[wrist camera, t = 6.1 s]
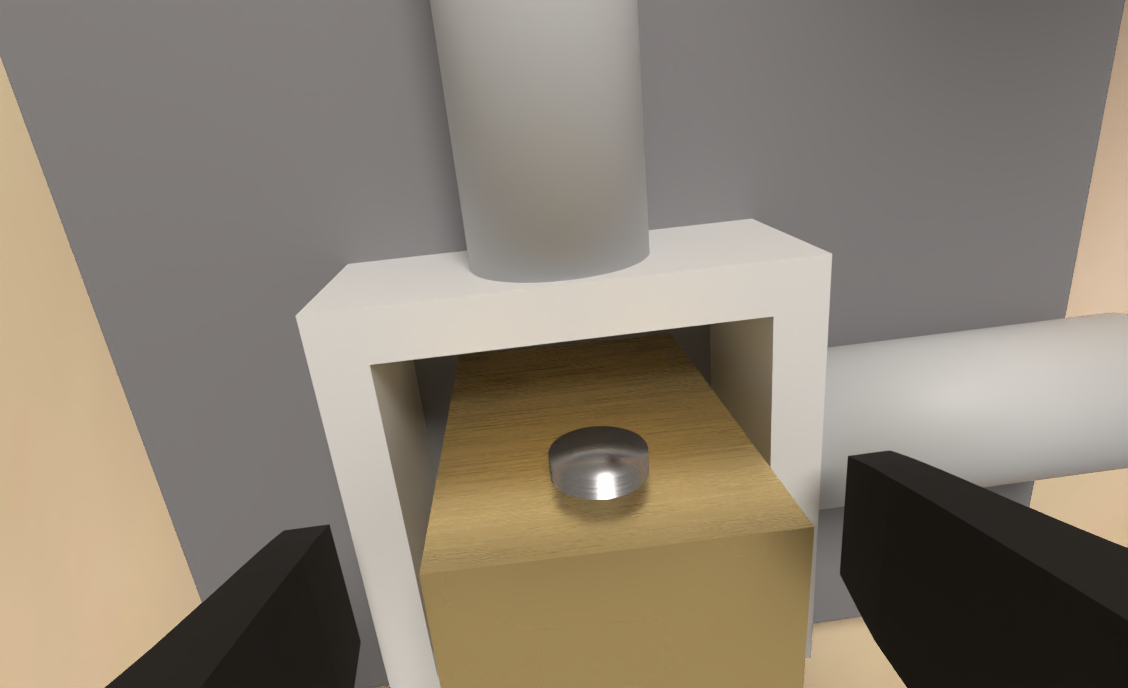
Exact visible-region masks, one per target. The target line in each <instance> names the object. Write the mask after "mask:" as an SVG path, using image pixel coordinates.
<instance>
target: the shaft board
mask: <svg viewBox="0 0 1128 688" xmlns="http://www.w3.org/2000/svg"><path fill="white" fill-rule="evenodd" d="M1124 2H1125V0H0V57H1V59H2V62H3V65H4V67H5V70H6V73H7V76H8V78H9V81H10V84H11V86H12V89H13V92H14V95H15V97H16V100H17V103H18V105H19V108H20V111H21V114H22V116H23V119H24V122H25V124H26V127H27V130H28V132H29V135H30V138H31V141H32V143H33V146H34V149H35V151H36V154H37V157H38V160H39V162H40V165H41V168H42V170H43V173H44V176H45V179H46V181H47V184H48V187H49V189H50V192H51V195H52V197H53V200H54V203H55V206H56V208H57V211H58V214H59V216H60V219H61V222H62V225H63V227H64V230H65V233H66V235H67V238H68V241H69V244H70V246H71V249H72V252H73V254H74V257H75V260H76V262H77V265H78V268H79V271H80V273H81V276H82V279H83V281H84V284H85V287H86V290H87V292H88V295H89V298H90V300H91V303H92V306H93V309H94V311H95V314H96V317H97V319H98V322H99V325H100V327H101V330H102V333H103V336H104V338H105V341H106V344H107V346H108V349H109V352H110V355H111V357H112V360H113V363H114V365H115V368H116V371H117V374H118V376H119V379H120V382H121V384H122V387H123V390H124V392H125V395H126V398H127V401H128V403H129V406H130V409H131V411H132V414H133V417H134V420H135V422H136V425H137V428H138V430H139V433H140V436H141V439H142V441H143V444H144V447H145V449H146V452H147V455H148V457H149V460H150V463H151V466H152V468H153V471H154V474H155V476H156V479H157V482H158V485H159V487H160V490H161V493H162V495H163V498H164V501H165V504H166V506H167V509H168V512H169V514H170V517H171V520H172V522H173V525H174V528H175V531H176V533H177V536H178V539H179V541H180V544H181V547H182V550H183V552H184V555H185V558H186V560H187V563H188V566H189V569H190V571H191V574H192V577H193V579H194V582H195V585H196V587H197V590H198V593H199V596H200V598H201V601H202V602H204V601H205V600H206V599H207V598H208V597H209V596H210V595H211V594H212V593H214V592H215V591H216V590H217V589H218V588H219V587H220V586H221V585H222V584H223V583H224V582H226V581H227V580H228V579H229V578H230V577H231V576H232V575H233V574H234V573H235V572H236V571H238V570H239V569H240V568H241V567H242V566H243V565H244V564H245V563H246V562H247V561H249V560H250V559H251V558H252V557H253V556H254V555H255V554H256V553H257V552H259V551H260V550H261V549H262V548H263V547H264V546H265V545H267V544H268V543H269V542H270V541H271V540H272V539H274V538H275V537H276V536H277V535H279V534H280V533H281V532H282V531H284V530H290V529H298V528H305V527H313V526H321V525H328V524H330V528H331V532H332V536H333V539H334V543H335V547H336V551H337V554H338V558H339V562H340V566H341V569H342V573H343V577H344V581H345V584H346V588H347V592H348V596H349V599H350V603H351V607H352V611H353V614H354V618H355V622H356V626H357V629H358V633H359V637H360V640H361V645H360V651H359V658H358V665H357V672H356V679H355V686H354V688H371V687H378V686H385V685H390V688H441V686H440V681H439V676H438V671H437V666H436V660H435V655H434V650H433V645H432V640H431V634H430V629H429V624H428V619H427V614H426V608H425V603H424V598H423V593H422V587H421V582H420V577H419V573H420V567H421V562H422V556H423V551H424V545H425V540H426V534H427V529H428V523H429V518H430V512H431V507H432V501H433V496H434V490H435V485H436V479H437V474H438V468H439V463H440V457H441V452H442V446H443V441H444V435H445V430H446V424H447V419H448V413H449V408H450V402H451V397H452V392H453V386H454V381H455V375H456V370H457V364H458V359H459V356H461V355H471V354H481V353H490V352H500V351H510V350H519V349H529V348H539V347H549V346H558V345H568V344H578V343H587V342H597V341H607V340H617V339H626V338H636V337H646V336H655V335H665V334H671V335H672V336H673V338H674V339H675V340H676V342H677V343H678V344H679V346H680V347H681V348H682V350H683V351H684V352H685V354H686V355H687V356H688V358H689V359H690V360H691V362H692V363H693V364H694V366H695V367H696V368H697V370H698V371H699V372H700V374H701V375H702V376H703V378H704V379H705V381H706V382H707V383H708V385H709V386H710V387H711V389H712V390H713V391H714V393H715V394H716V395H717V397H718V398H719V399H720V401H721V402H722V403H723V405H724V406H725V407H726V409H727V410H728V411H729V413H730V414H731V415H732V417H733V418H734V419H735V421H736V422H737V423H738V425H739V426H740V427H741V429H742V430H743V431H744V433H745V434H746V435H747V437H748V438H749V440H750V441H751V442H752V444H753V445H754V446H755V448H756V449H757V450H758V452H759V453H760V454H761V456H762V457H763V458H764V460H765V461H766V462H767V464H768V465H769V466H770V468H771V469H772V470H773V472H774V473H775V474H776V476H777V477H778V478H779V480H780V481H781V482H782V484H783V485H784V486H785V488H786V489H787V490H788V492H789V493H790V494H791V496H792V497H793V498H794V500H795V501H796V503H797V504H798V505H799V507H800V508H801V509H802V511H803V512H804V513H805V515H806V516H807V517H808V519H809V520H810V521H811V523H812V524H813V525H814V527H815V528H814V542H813V556H812V570H811V584H810V598H809V612H808V626H807V640H806V654H805V658H810V657H811V648H812V629H813V623H819V622H826V621H833V620H840V619H847V618H854V617H861V614H860V613H859V611H858V609H857V607H856V605H855V603H854V601H853V599H852V597H851V595H850V593H849V591H848V589H847V587H846V586H845V584H844V582H843V580H842V578H841V576H840V563H841V548H842V534H843V519H844V505H845V490H846V476H847V461H848V456H851V455H858V454H866V453H873V452H881V451H889V450H891V451H894V452H897V453H900V454H903V455H906V456H908V457H911V458H914V459H916V460H919V461H921V462H924V463H926V464H929V465H931V466H934V467H936V468H938V469H941V470H943V471H946V472H948V473H950V474H953V475H955V476H957V477H960V478H962V479H964V480H967V481H969V482H971V483H974V484H976V485H978V486H980V487H983V488H985V489H987V490H990V491H992V492H994V493H997V494H999V495H1001V496H1004V497H1006V498H1008V499H1010V500H1013V501H1015V502H1017V503H1020V504H1022V505H1024V506H1027V507H1029V506H1030V501H1031V495H1032V490H1033V485H1034V480H1042V479H1049V478H1056V477H1064V476H1071V475H1078V474H1086V473H1093V472H1100V471H1108V470H1115V469H1123V468H1128V314H1122V313H1104V314H1096V315H1087V316H1079V317H1071V318H1065V315H1066V310H1067V305H1068V299H1069V294H1070V289H1071V283H1072V278H1073V273H1074V267H1075V262H1076V257H1077V252H1078V246H1079V241H1080V236H1081V230H1082V225H1083V220H1084V214H1085V209H1086V204H1087V199H1088V193H1089V188H1090V183H1091V177H1092V172H1093V167H1094V161H1095V156H1096V151H1097V146H1098V140H1099V135H1100V130H1101V124H1102V119H1103V114H1104V108H1105V103H1106V98H1107V93H1108V87H1109V82H1110V77H1111V71H1112V66H1113V61H1114V55H1115V50H1116V45H1117V40H1118V34H1119V29H1120V24H1121V18H1122V13H1123V8H1124Z"/></svg>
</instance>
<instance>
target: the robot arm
mask: <svg viewBox="0 0 1128 688" xmlns="http://www.w3.org/2000/svg"><path fill="white" fill-rule="evenodd" d="M840 576H841V578H842V580H843V582H844V584H845V586H846V587H847V589H848V591H849V593H850V595H851V597H852V599H853V601H854V603H855V605H856V607H857V609H858V611H859V613H860V614H861V616H862V618H863V620H864V622H865V624H866V625H867V627H868V629H869V631H870V633H871V634H872V636H873V638H874V640H875V642H876V643H877V645H878V646H879V647H880V649H881V650H882V652H883V653H884V655H885V656H886V658H887V659H888V661H889V662H890V664H891V665H892V666H893V668H894V669H895V671H896V672H897V674H898V675H899V677H900V678H901V679H902V681H903V682H904V684H905V685H906V687H907V688H1128V548H1126V547H1124V546H1121V545H1118V544H1116V543H1113V542H1111V541H1108V540H1106V539H1103V538H1101V537H1099V536H1096V535H1094V534H1091V533H1089V532H1086V531H1084V530H1081V529H1079V528H1076V527H1074V526H1072V525H1069V524H1067V523H1064V522H1062V521H1060V520H1057V519H1055V518H1053V517H1050V516H1048V515H1045V514H1043V513H1041V512H1038V511H1036V510H1034V509H1031V508H1029V507H1027V506H1024V505H1022V504H1020V503H1017V502H1015V501H1013V500H1010V499H1008V498H1006V497H1004V496H1001V495H999V494H997V493H994V492H992V491H990V490H987V489H985V488H983V487H980V486H978V485H976V484H974V483H971V482H969V481H967V480H964V479H962V478H960V477H957V476H955V475H953V474H950V473H948V472H946V471H943V470H941V469H938V468H936V467H934V466H931V465H929V464H926V463H924V462H921V461H919V460H916V459H914V458H911V457H908V456H906V455H903V454H900V453H897V452H894V451H891V450H889V451H881V452H873V453H866V454H858V455H851V456H848V461H847V476H846V490H845V505H844V519H843V534H842V548H841V563H840ZM360 645H361V640H360V637H359V633H358V629H357V626H356V622H355V618H354V614H353V611H352V607H351V603H350V599H349V596H348V592H347V588H346V584H345V581H344V577H343V573H342V569H341V566H340V562H339V558H338V554H337V551H336V547H335V543H334V539H333V536H332V532H331V528H330V524H328V525H321V526H313V527H305V528H298V529H290V530H284V531H282V532H281V533H280V534H279V535H277V536H276V537H275V538H274V539H272V540H271V541H270V542H269V543H268V544H267V545H265V546H264V547H263V548H262V549H261V550H260V551H259V552H257V553H256V554H255V555H254V556H253V557H252V558H251V559H250V560H249V561H247V562H246V563H245V564H244V565H243V566H242V567H241V568H240V569H239V570H238V571H236V572H235V573H234V574H233V575H232V576H231V577H230V578H229V579H228V580H227V581H226V582H224V583H223V584H222V585H221V586H220V587H219V588H218V589H217V590H216V591H215V592H214V593H212V594H211V595H210V596H209V597H208V598H207V599H206V600H205V601H204V602H202V603H201V604H200V605H199V606H198V607H197V608H196V609H195V610H194V611H192V612H191V613H190V614H189V615H188V616H187V617H186V618H185V619H184V620H182V621H181V622H180V623H179V624H178V625H177V626H176V627H175V628H174V629H173V630H171V631H170V632H169V633H168V634H167V635H166V636H165V637H164V638H163V639H161V640H160V641H159V642H158V643H157V644H156V645H155V646H154V647H152V648H151V649H150V650H149V651H148V652H147V653H145V654H144V655H143V656H142V657H141V658H139V659H138V660H137V661H136V662H135V663H134V664H132V665H131V666H130V667H129V668H128V669H126V670H125V671H124V672H123V673H122V674H120V675H119V676H118V677H117V678H116V679H115V680H113V681H112V682H111V683H110V684H109V685H107V686H106V687H105V688H354V686H355V679H356V672H357V665H358V658H359V651H360Z"/></svg>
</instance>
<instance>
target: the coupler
mask: <svg viewBox="0 0 1128 688" xmlns="http://www.w3.org/2000/svg"><path fill="white" fill-rule="evenodd" d="M814 528H815V527H814V525H813V524H812V523H811V521H810V520H809V519H808V517H807V516H806V515H805V513H804V512H803V511H802V509H801V508H800V507H799V505H798V504H797V503H796V501H795V500H794V498H793V497H792V496H791V494H790V493H789V492H788V490H787V489H786V488H785V486H784V485H783V484H782V482H781V481H780V480H779V478H778V477H777V476H776V474H775V473H774V472H773V470H772V469H771V468H770V466H769V465H768V464H767V462H766V461H765V460H764V458H763V457H762V456H761V454H760V453H759V452H758V450H757V449H756V448H755V446H754V445H753V444H752V442H751V441H750V440H749V438H748V437H747V435H746V434H745V433H744V431H743V430H742V429H741V427H740V426H739V425H738V423H737V422H736V421H735V419H734V418H733V417H732V415H731V414H730V413H729V411H728V410H727V409H726V407H725V406H724V405H723V403H722V402H721V401H720V399H719V398H718V397H717V395H716V394H715V393H714V391H713V390H712V389H711V387H710V386H709V385H708V383H707V382H706V381H705V379H704V378H703V376H702V375H701V374H700V372H699V371H698V370H697V368H696V367H695V366H694V364H693V363H692V362H691V360H690V359H689V358H688V356H687V355H686V354H685V352H684V351H683V350H682V348H681V347H680V346H679V344H678V343H677V342H676V340H675V339H674V338H673V336H672V335H671V334H665V335H655V336H646V337H636V338H626V339H617V340H607V341H597V342H587V343H578V344H568V345H558V346H549V347H539V348H529V349H519V350H510V351H500V352H490V353H481V354H471V355H461V356H459V359H458V364H457V370H456V375H455V381H454V386H453V392H452V397H451V402H450V408H449V413H448V419H447V424H446V430H445V435H444V441H443V446H442V452H441V457H440V463H439V468H438V474H437V479H436V485H435V490H434V496H433V501H432V507H431V512H430V518H429V523H428V529H427V534H426V540H425V545H424V551H423V556H422V562H421V567H420V573H419V577H420V582H421V587H422V593H423V598H424V603H425V608H426V614H427V619H428V624H429V629H430V634H431V640H432V645H433V650H434V655H435V660H436V666H437V671H438V676H439V681H440V686H441V688H803V682H804V668H805V654H806V640H807V626H808V612H809V598H810V584H811V570H812V556H813V542H814Z"/></svg>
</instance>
